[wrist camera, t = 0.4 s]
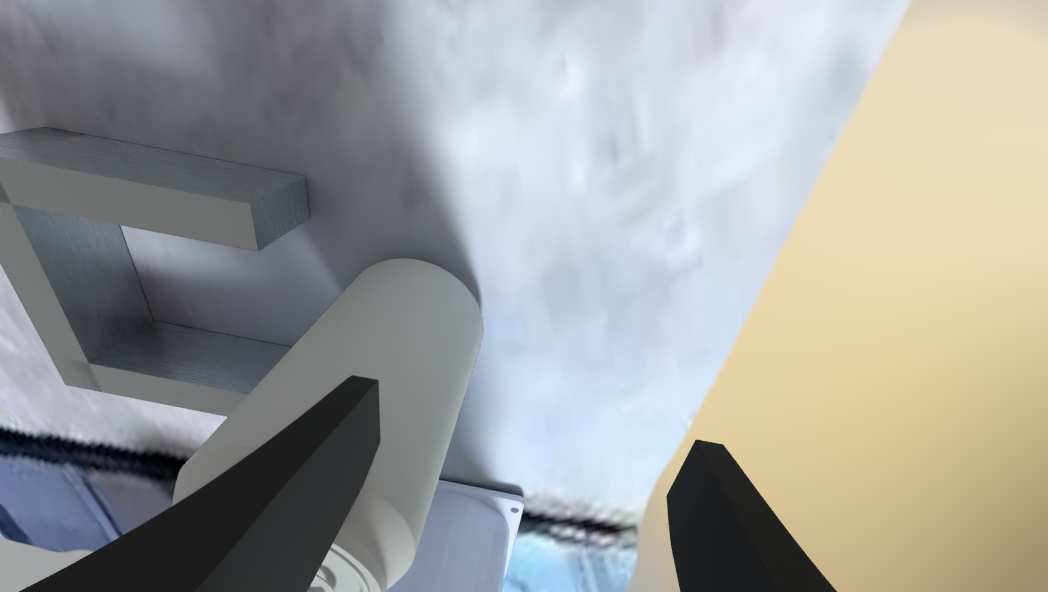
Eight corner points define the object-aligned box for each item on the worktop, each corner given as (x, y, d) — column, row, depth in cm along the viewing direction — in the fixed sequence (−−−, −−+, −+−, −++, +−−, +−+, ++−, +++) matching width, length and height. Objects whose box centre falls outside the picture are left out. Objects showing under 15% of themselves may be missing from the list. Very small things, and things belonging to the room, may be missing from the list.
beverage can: (343, 245, 19) (72, 484, 9) (486, 256, 19) (375, 521, 8) (366, 358, 22) (187, 628, 12) (488, 369, 22) (409, 660, 12)
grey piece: (327, 379, 23) (290, 428, 20) (130, 341, 24) (65, 384, 21) (305, 176, 18) (249, 204, 15) (44, 126, 18) (-64, 144, 15)
